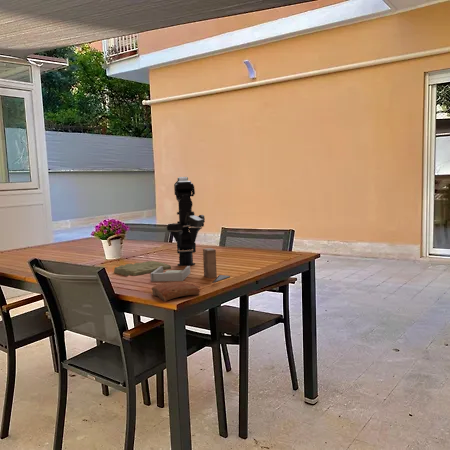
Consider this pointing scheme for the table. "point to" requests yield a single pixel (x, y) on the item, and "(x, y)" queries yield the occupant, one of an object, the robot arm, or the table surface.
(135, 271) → the decorative tile
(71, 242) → the table surface
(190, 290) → the ceramic shard
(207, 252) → the brown rectangular block
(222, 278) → the mat
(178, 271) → the offcut
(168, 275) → the rack
